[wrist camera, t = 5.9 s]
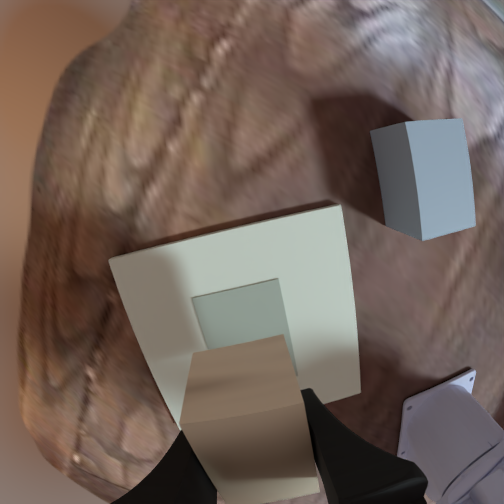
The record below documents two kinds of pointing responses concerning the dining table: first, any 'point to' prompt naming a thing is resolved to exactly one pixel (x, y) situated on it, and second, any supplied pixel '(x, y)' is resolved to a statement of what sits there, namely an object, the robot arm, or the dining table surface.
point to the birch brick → (249, 422)
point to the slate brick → (425, 177)
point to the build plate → (247, 300)
